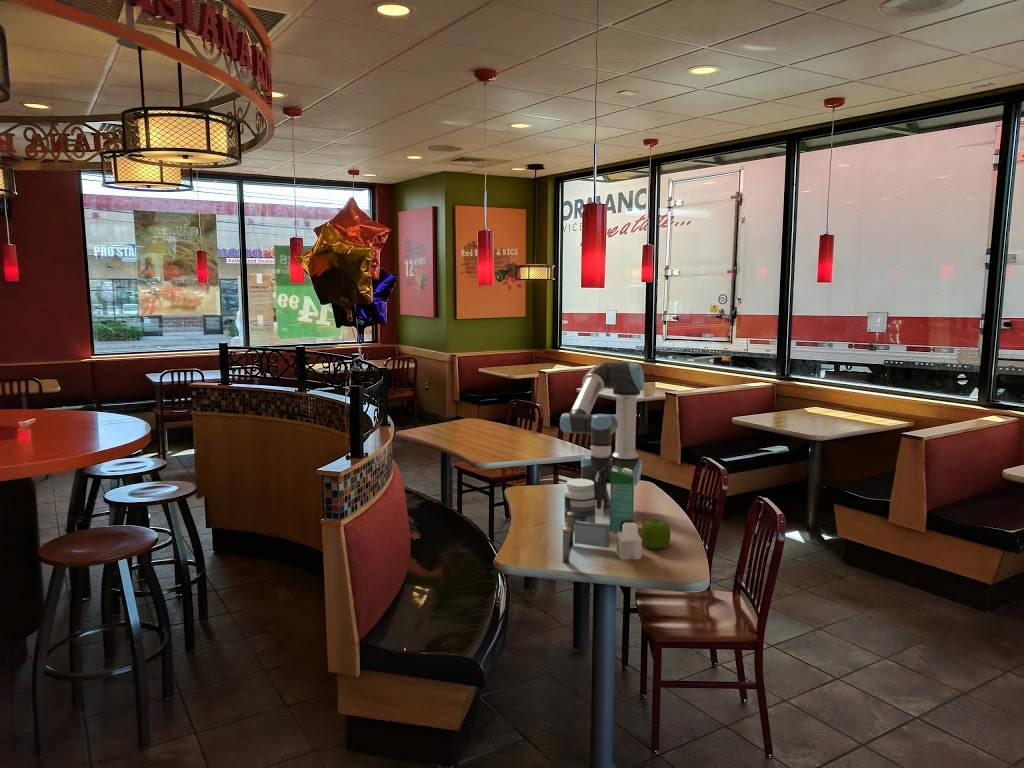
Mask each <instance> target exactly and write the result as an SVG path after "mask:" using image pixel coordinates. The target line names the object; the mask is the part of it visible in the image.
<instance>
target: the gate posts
mask: <svg viewBox="0 0 1024 768" xmlns="http://www.w3.org/2000/svg"><path fill="white" fill-rule="evenodd" d="M561 528H562V563H563V564H570V552H571V548H572V547H574V529H573V528H574V512H567V526H566V525H565V526H562V527H561Z"/></svg>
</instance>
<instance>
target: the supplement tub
mask: <svg viewBox="0 0 1024 768" xmlns="http://www.w3.org/2000/svg"><path fill="white" fill-rule="evenodd" d="M594 498H595V496H594V482H593V481H591V480H588V479H581V478H572V479H569V480H567V482H566V488H565V491H564V518H563V519H564V521H563V523H564V525H565V526H567V512H574V523H575V521H581V522H590V523H596V519H597V516H596V500H594ZM573 530H575V524H574V528H573Z"/></svg>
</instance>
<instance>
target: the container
mask: <svg viewBox="0 0 1024 768" xmlns="http://www.w3.org/2000/svg"><path fill="white" fill-rule="evenodd" d="M639 526H640V525H639V523H638V521H636V520H635V519H633V520H624V521H622V522H621V523H620V531H616V553H617V556H618V558H619V560H620V561H621V560H622V561H623V560H641V559H642V546H643V544H642V536H640V534H639Z"/></svg>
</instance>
